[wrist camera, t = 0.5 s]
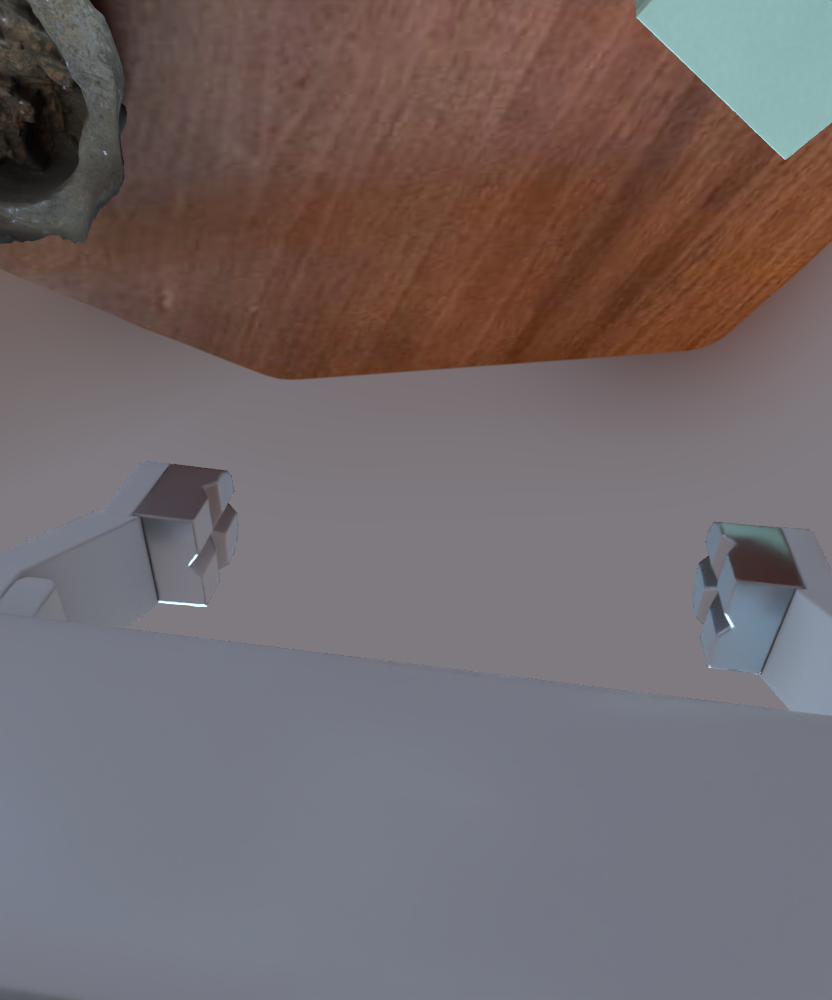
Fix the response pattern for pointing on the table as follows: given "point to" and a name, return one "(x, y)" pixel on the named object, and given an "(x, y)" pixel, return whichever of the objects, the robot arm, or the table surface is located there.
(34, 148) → the stone bowl
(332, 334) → the table surface
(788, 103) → the lid
